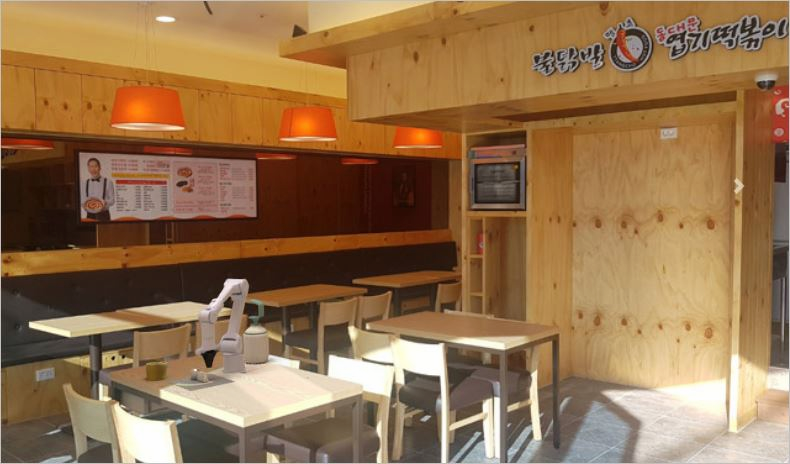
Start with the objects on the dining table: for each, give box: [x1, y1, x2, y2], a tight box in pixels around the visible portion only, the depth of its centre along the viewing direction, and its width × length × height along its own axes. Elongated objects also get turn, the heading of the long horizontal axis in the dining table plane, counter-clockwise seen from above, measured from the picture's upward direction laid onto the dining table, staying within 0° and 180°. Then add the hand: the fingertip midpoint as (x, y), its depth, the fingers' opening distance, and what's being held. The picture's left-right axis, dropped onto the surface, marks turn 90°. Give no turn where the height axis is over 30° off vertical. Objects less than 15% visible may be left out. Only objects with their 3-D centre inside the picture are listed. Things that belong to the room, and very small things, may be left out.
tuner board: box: [168, 373, 236, 392], centre depth 308 cm, size 21×22×1 cm
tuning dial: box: [190, 367, 209, 382], centre depth 310 cm, size 13×4×4 cm, turn 45°
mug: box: [145, 361, 169, 382], centre depth 318 cm, size 12×10×10 cm
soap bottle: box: [242, 298, 270, 365], centre depth 350 cm, size 12×12×31 cm
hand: (209, 367), depth 312 cm, fingers closed
